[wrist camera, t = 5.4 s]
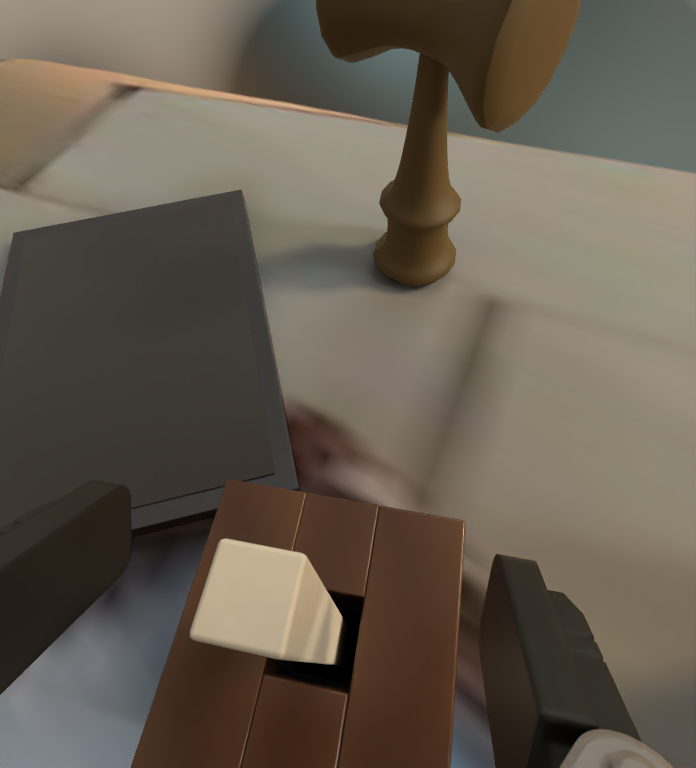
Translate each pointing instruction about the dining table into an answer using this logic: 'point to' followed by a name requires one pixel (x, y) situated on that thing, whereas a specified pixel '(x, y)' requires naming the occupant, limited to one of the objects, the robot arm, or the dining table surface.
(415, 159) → the kendama
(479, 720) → the dining table surface
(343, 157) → the dining table surface
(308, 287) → the dining table surface
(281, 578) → the stylus
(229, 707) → the pen stand
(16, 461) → the tablet
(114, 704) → the dining table surface
